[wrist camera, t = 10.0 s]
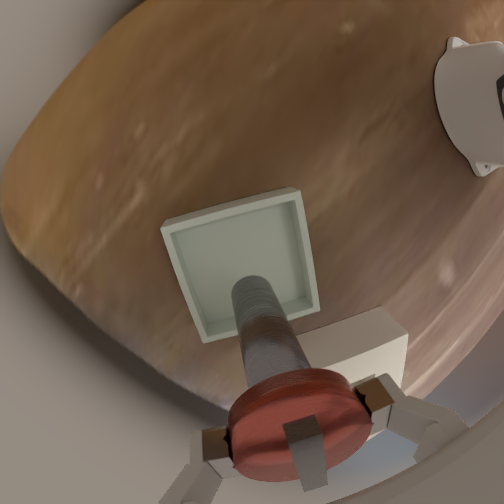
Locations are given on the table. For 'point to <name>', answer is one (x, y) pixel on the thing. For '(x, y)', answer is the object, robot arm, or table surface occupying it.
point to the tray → (242, 257)
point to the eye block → (359, 347)
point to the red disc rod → (287, 399)
